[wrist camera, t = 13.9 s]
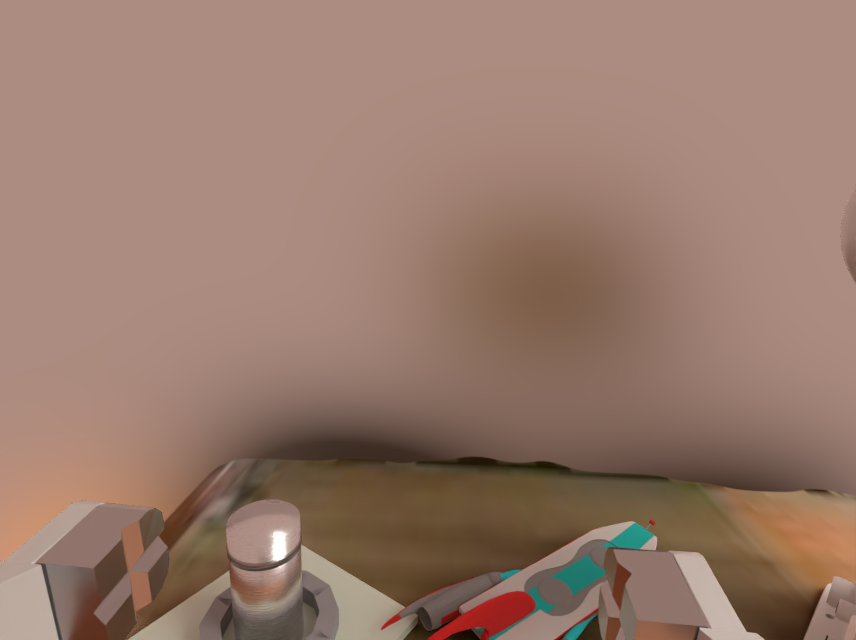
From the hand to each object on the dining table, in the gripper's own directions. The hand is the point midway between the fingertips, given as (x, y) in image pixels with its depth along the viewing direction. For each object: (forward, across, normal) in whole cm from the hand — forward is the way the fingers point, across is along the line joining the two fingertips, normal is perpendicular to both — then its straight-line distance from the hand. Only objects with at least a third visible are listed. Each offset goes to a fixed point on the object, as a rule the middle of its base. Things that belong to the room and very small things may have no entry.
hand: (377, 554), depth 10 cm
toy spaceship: (+28, -9, +29) cm, 42 cm away
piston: (+22, +12, +28) cm, 38 cm away
